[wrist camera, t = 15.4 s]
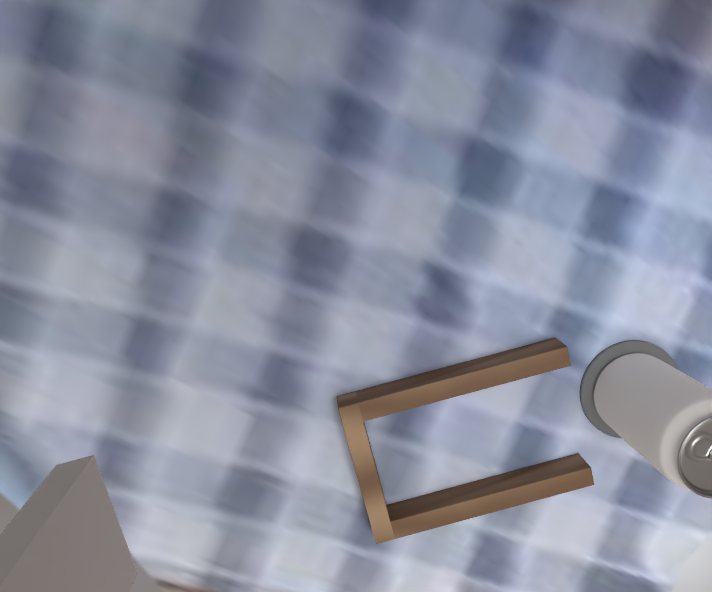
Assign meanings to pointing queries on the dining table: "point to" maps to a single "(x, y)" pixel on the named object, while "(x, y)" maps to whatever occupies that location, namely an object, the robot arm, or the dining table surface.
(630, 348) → the felt pad
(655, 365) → the can
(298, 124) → the dining table surface
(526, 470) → the u-shaped wooden frame
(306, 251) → the dining table surface
